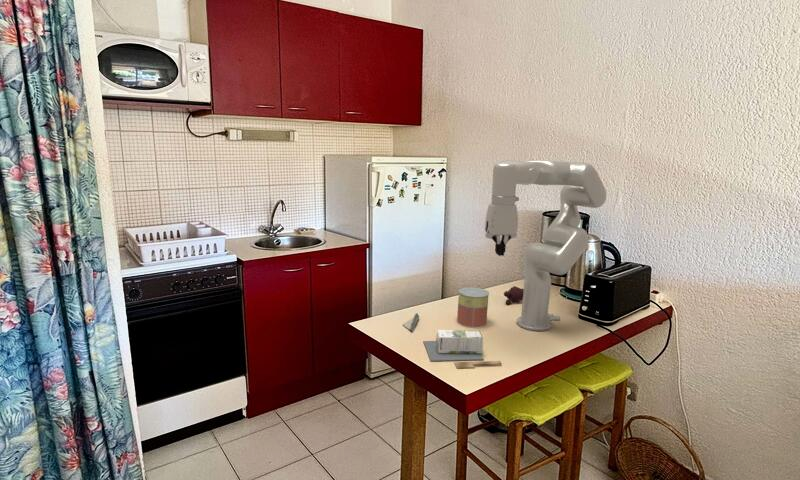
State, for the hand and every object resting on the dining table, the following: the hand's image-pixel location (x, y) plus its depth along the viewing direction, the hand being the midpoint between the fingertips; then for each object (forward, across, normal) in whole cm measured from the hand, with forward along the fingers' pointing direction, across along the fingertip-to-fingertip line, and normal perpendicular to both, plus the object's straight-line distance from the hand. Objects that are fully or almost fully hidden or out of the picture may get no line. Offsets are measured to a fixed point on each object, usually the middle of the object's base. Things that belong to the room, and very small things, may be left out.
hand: (499, 254), depth 153 cm
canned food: (+31, +4, -15) cm, 34 cm away
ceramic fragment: (+30, +27, -14) cm, 43 cm away
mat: (+30, +18, +8) cm, 36 cm away
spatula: (+30, +13, +19) cm, 38 cm away
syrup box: (+27, +9, +10) cm, 30 cm away
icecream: (+32, -23, -34) cm, 52 cm away
